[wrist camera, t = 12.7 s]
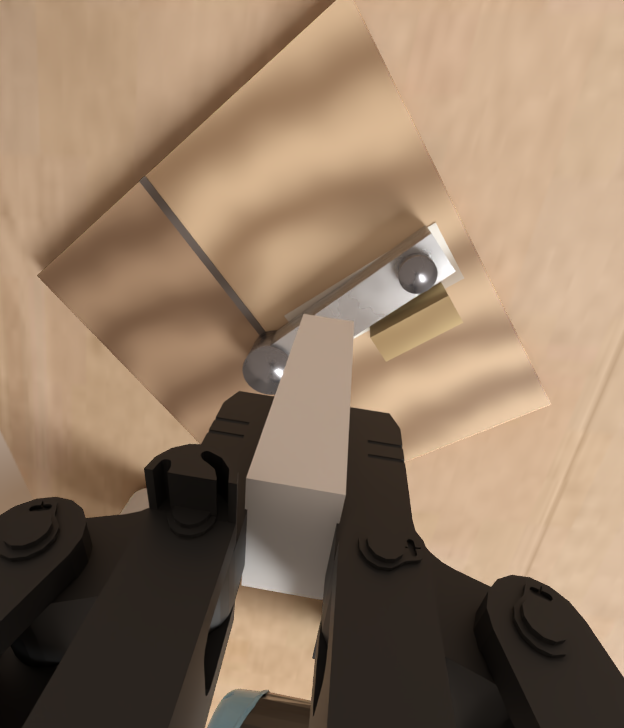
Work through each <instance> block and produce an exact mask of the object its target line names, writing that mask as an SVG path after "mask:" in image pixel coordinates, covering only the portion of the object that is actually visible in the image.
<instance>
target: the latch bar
mask: <svg viewBox="0 0 624 728" xmlns="http://www.w3.org/2000/svg"><path fill="white" fill-rule="evenodd" d="M454 272H456V271H455V270H454V268H453V266H452V265H451V263H450V262H449V260H448V259H447V257H446V255H445V254H444V252H443V251H442V249H441V247H440V246H439V244H438V243H437V241H436V239H435V238H434V236H433V235H432V233H431V232H430V230H429V229H428V228H427V226H426V225H425V226H423V227H422V228H421V229H419V230H418V231H416V232H415V233H414V234H412V235H411V236H409V237H408V238H407V239H405V240H404V241H402V242H401V243H400V244H398V245H397V246H395V247H394V248H393V249H391V250H390V251H388V252H387V253H386V254H384V255H383V256H381V257H380V258H378V259H377V260H376V261H374V262H373V263H371V264H370V265H369V266H367V267H366V268H364V269H363V270H362V271H360V272H359V273H357V274H356V275H355V276H353V277H352V278H350V279H349V280H348V281H346V282H345V283H343V284H342V285H341V286H339V287H338V288H336V289H335V290H334V291H332V292H331V293H329V294H328V295H326V296H325V297H324V298H322V299H321V300H319V301H318V302H317V303H315V304H314V305H312V306H311V307H310V308H308V309H307V310H305V311H304V312H303V313H301V314H300V315H298V316H297V317H296V318H294V319H293V320H291V321H290V322H289V323H287V324H286V325H284V326H283V327H282V328H280V329H279V330H272V331H267V332H264V333H263V334H261V335H260V336H259V337H258V338H257V339H256V341H255V343H254V344H253V346H252V348H251V350H250V352H249V354H248V355H247V357H246V359H245V361H244V363H243V368H242V371H243V376H244V379H245V381H246V382H247V383H248V385H249V386H250V387H251V388H253V389H254V390H256V391H257V392H260V393H262V394H267V395H275V394H276V391H277V388H278V386H279V383H280V380H281V377H282V374H283V371H284V368H285V366H286V363H287V360H288V357H289V354H290V351H291V349H292V346H293V343H294V340H295V337H296V334H297V331H298V329H299V326H300V323H301V320H302V317H303V314H308V315H314V316H321V317H328V318H334V319H341V320H348V321H354V336H356V335H357V334H359V333H360V332H362V331H363V330H365V329H367V328H368V327H370V326H371V325H373V324H374V323H376V322H377V321H379V320H381V319H382V318H384V317H385V316H387V315H388V314H390V313H392V312H393V311H395V310H396V309H398V308H399V307H401V306H402V305H404V304H406V303H407V302H409V301H410V300H412V299H413V298H415V297H417V296H418V295H420V294H421V293H424V292H426V291H428V290H429V289H430V288H432V286H434V285H435V284H437V283H438V282H440V281H442V280H443V279H445V278H446V277H448V276H449V275H451V274H452V273H454Z"/></svg>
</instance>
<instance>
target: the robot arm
mask: <svg viewBox="0 0 624 728" xmlns="http://www.w3.org/2000/svg"><path fill="white" fill-rule="evenodd" d="M353 338H354V321H348V320H341V319H334V318H328V317H321V316H314V315H308V314H303V317H302V320H301V323H300V326H299V329H298V331H297V334H296V337H295V340H294V343H293V346H292V349H291V351H290V354H289V357H288V360H287V363H286V366H285V368H284V371H283V374H282V377H281V380H280V383H279V386H278V388H277V391H276V394H275V397H274V396H268V395H262V394H256V393H249V392H243V391H238V392H237V393H236V394H234V395H233V396H231V397H230V398H229V399H227V400H226V401H225V402H223V404H222V406H221V408H220V410H219V412H218V414H217V415H216V419H215V420H214V421H213V423H212V425H211V427H210V428H209V432H208V433H207V434H206V436H205V438H204V439H203V441H202V443H201V444H188V445H183V446H179V447H175V448H171V449H169V450H167V451H165V452H163V453H161V454H160V455H158V456H156V457H155V458H154V459H153V460H152V461H151V462H150V463H149V464H148V465H147V466H146V467H145V468H144V472H145V479H146V487H147V494H148V502H149V508H147V509H144V510H142V511H138V512H133V513H128V514H122V515H112V516H103V517H94V518H85V515H84V511H83V509H82V508H81V507H80V506H79V505H77V504H76V503H75V502H74V501H72V500H68V499H63V498H58V497H51V498H41V499H35V500H32V501H29V502H26V503H23V504H20V505H17V506H15V507H13V508H11V509H10V510H8V511H6V512H5V513H3V514H1V515H0V728H205V724H206V721H207V717H208V713H209V709H210V706H211V702H212V698H213V695H214V691H215V687H216V683H217V680H218V676H219V672H220V669H221V665H222V661H223V657H224V654H225V650H226V646H227V643H228V639H229V635H230V631H231V628H232V624H233V620H234V608H235V598H236V595H237V591H238V587H239V584H240V580H241V577H242V586H247V587H253V588H258V589H264V590H269V591H275V592H281V593H286V594H292V595H297V596H303V597H308V598H314V599H319V600H323V605H322V616H321V622H320V626H319V631H318V635H317V640H316V644H315V648H314V653H313V657H312V658H313V659H315V666H314V677H313V687H312V697H311V701H310V700H305V699H300V698H295V697H290V696H285V695H280V694H275V693H270V692H269V690H263V691H252V690H244V689H236V690H233V691H231V692H229V693H228V694H227V695H226V696H225V697H224V698H223V699H222V700H221V702H220V703H219V705H218V706H217V708H216V710H215V712H214V714H213V716H212V718H211V720H210V722H209V725H208V727H207V728H624V677H623V676H622V674H621V673H620V671H619V670H618V668H617V667H616V665H615V664H614V662H613V661H612V659H611V658H610V656H609V655H608V654H607V652H606V651H605V649H604V648H603V646H602V645H601V643H600V642H599V640H598V639H597V637H596V636H595V634H594V633H593V631H592V630H591V628H590V627H589V625H588V624H587V622H586V621H585V620H584V619H583V617H582V616H581V615H580V614H579V613H578V611H577V610H576V609H575V608H574V607H573V606H572V604H571V603H570V602H569V601H568V600H566V599H565V598H564V597H563V596H561V595H560V594H559V593H557V592H556V591H555V590H553V589H552V588H551V587H550V586H547V585H545V584H543V583H541V582H539V581H536V580H534V579H532V578H530V577H523V576H516V575H510V576H507V577H503V578H500V579H497V580H496V582H495V583H494V584H493V585H492V587H490V586H488V585H486V584H484V583H482V582H479V581H477V580H475V579H473V578H471V577H469V576H467V575H465V574H463V573H461V572H459V571H456V570H454V569H453V568H451V567H449V566H448V565H446V564H444V563H443V562H441V561H440V560H439V559H438V558H436V557H435V556H434V555H433V554H432V553H430V551H429V550H428V549H427V548H426V547H425V544H424V541H423V540H422V539H421V537H420V536H419V535H418V534H417V532H416V531H415V528H414V524H413V520H412V513H411V506H410V498H409V490H408V483H407V475H406V468H405V463H404V452H403V449H402V446H403V445H402V437H401V429H400V428H399V426H398V425H397V423H396V422H395V420H394V419H393V418H392V416H391V415H390V413H385V412H378V411H372V410H366V409H359V408H353V407H350V398H351V378H352V358H353Z"/></svg>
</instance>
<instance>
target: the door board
mask: <svg viewBox="0 0 624 728" xmlns="http://www.w3.org/2000/svg"><path fill="white" fill-rule="evenodd" d="M425 225H426V226H427V228H428V229H429V230H430V232H431V233H432V235H433V236H434V238H435V239H436V241H437V243H438V244H439V246H440V247H441V249H442V251H443V252H444V254H445V255H446V257H447V259H448V260H449V262H450V263H451V265H452V266H453V268H454V270H455V271H456V272H454V273H452V274H451V275H449V276H448V277H446V278H445V279H443V280H442V281H440V282H438V283H437V284H435V285H434V286H432V288H430V289H429V290H428V291H426V292H424V293H421V294H420V295H418V296H417V297H415V298H413V299H412V300H410V301H409V302H407V303H406V304H404V305H402V306H401V307H399V308H398V309H396V310H395V311H393V312H392V313H390V314H388V315H387V316H385V317H384V318H382V319H381V320H379V321H377V322H376V323H374V324H373V325H371V326H370V327H368V328H367V329H365V330H363V331H362V332H360V333H359V334H357V335H356V336H354V338H353V358H352V378H351V398H350V407H353V408H359V409H366V410H372V411H378V412H385V413H390V415H391V416H392V418H393V419H394V420H395V422H396V423H397V425H398V426H399V428H400V429H401V437H402V445H403V446H402V449H403V452H404V463H405V462H407V461H410V460H412V459H415V458H417V457H420V456H422V455H425V454H427V453H430V452H432V451H435V450H437V449H440V448H443V447H445V446H448V445H450V444H453V443H455V442H458V441H460V440H463V439H465V438H468V437H470V436H473V435H475V434H478V433H480V432H483V431H486V430H488V429H491V428H493V427H496V426H498V425H501V424H503V423H506V422H508V421H511V420H513V419H516V418H518V417H521V416H523V415H526V414H528V413H531V412H534V411H536V410H539V409H541V408H544V407H546V406H549V405H551V402H550V400H549V398H548V396H547V394H546V392H545V390H544V388H543V386H542V384H541V382H540V380H539V378H538V376H537V374H536V372H535V370H534V368H533V366H532V364H531V361H530V359H529V357H528V355H527V353H526V351H525V349H524V347H523V345H522V343H521V341H520V339H519V337H518V335H517V333H516V331H515V329H514V327H513V325H512V323H511V321H510V319H509V316H508V314H507V312H506V310H505V308H504V306H503V304H502V302H501V300H500V298H499V296H498V294H497V292H496V290H495V288H494V286H493V284H492V282H491V280H490V278H489V276H488V274H487V271H486V269H485V267H484V265H483V263H482V261H481V259H480V257H479V255H478V253H477V251H476V249H475V247H474V245H473V243H472V241H471V239H470V237H469V235H468V233H467V231H466V229H465V226H464V224H463V222H462V220H461V218H460V216H459V214H458V212H457V210H456V208H455V206H454V204H453V202H452V200H451V198H450V196H449V194H448V192H447V190H446V188H445V186H444V184H443V181H442V179H441V177H440V175H439V173H438V171H437V169H436V167H435V165H434V163H433V161H432V159H431V157H430V155H429V153H428V151H427V149H426V147H425V145H424V143H423V141H422V139H421V136H420V134H419V132H418V130H417V128H416V126H415V124H414V122H413V120H412V118H411V116H410V114H409V112H408V110H407V108H406V106H405V104H404V102H403V100H402V98H401V96H400V94H399V91H398V89H397V87H396V85H395V83H394V81H393V79H392V77H391V75H390V73H389V71H388V69H387V67H386V65H385V63H384V61H383V59H382V57H381V55H380V53H379V51H378V49H377V46H376V44H375V42H374V40H373V38H372V36H371V34H370V32H369V30H368V28H367V26H366V24H365V22H364V20H363V18H362V16H361V14H360V12H359V10H358V8H357V6H356V4H355V1H354V0H336V1H335V2H334V3H333V4H331V5H330V6H329V7H328V8H327V9H326V10H325V11H324V12H323V13H322V14H321V15H319V16H318V17H317V18H316V19H315V20H314V21H313V22H312V23H311V24H310V25H309V26H308V27H306V28H305V29H304V30H303V31H302V32H301V33H300V34H299V35H298V36H297V37H296V38H294V39H293V40H292V41H291V42H290V43H289V44H288V45H287V46H286V47H285V48H284V49H283V50H281V51H280V52H279V53H278V54H277V55H276V56H275V57H274V58H273V59H272V60H271V61H270V62H268V63H267V64H266V65H265V66H264V67H263V68H262V69H261V70H260V71H259V72H258V73H256V74H255V75H254V76H253V77H252V78H251V79H250V80H249V81H248V82H247V83H246V84H245V85H243V86H242V87H241V88H240V89H239V90H238V91H237V92H236V93H235V94H234V95H233V96H231V97H230V98H229V99H228V100H227V101H226V102H225V103H224V104H223V105H222V106H221V107H220V108H218V109H217V110H216V111H215V112H214V113H213V114H212V115H211V116H210V117H209V118H208V119H207V120H205V121H204V122H203V123H202V124H201V125H200V126H199V127H198V128H197V129H196V130H195V131H193V132H192V133H191V134H190V135H189V136H188V137H187V138H186V139H185V140H184V141H183V142H182V143H180V144H179V145H178V146H177V147H176V148H175V149H174V150H173V151H172V152H171V153H170V154H168V155H167V156H166V157H165V158H164V159H163V160H162V161H161V162H160V163H159V164H158V165H157V166H155V167H154V168H153V169H152V170H151V171H150V172H149V173H148V174H147V175H146V176H144V177H143V178H142V179H141V180H140V181H139V182H138V183H137V184H136V185H135V186H134V187H133V188H132V189H130V190H129V191H128V192H127V193H126V194H125V195H124V196H123V197H122V198H121V199H120V200H119V201H117V202H116V203H115V204H114V205H113V206H112V207H111V208H110V209H109V210H108V211H107V212H105V213H104V214H103V215H102V216H101V217H100V218H99V219H98V220H97V221H96V222H95V223H94V224H92V225H91V226H90V227H89V228H88V229H87V230H86V231H85V232H84V233H83V234H82V235H81V236H79V237H78V238H77V239H76V240H75V241H74V242H73V243H72V244H71V245H70V246H69V247H67V248H66V249H65V250H64V251H63V252H62V253H61V254H60V255H59V256H58V257H57V258H56V259H54V260H53V261H52V262H51V263H50V264H49V265H48V266H47V267H46V268H45V269H44V270H42V271H41V272H40V273H39V274H38V275H37V276H38V277H39V278H40V279H41V280H42V281H43V282H44V283H45V284H46V285H47V286H48V287H49V289H50V290H51V291H52V292H53V293H54V294H55V295H56V296H57V297H58V298H59V299H60V300H61V301H62V302H63V303H64V304H65V305H66V306H67V307H68V308H69V309H70V310H71V311H72V312H73V313H74V314H75V315H76V316H77V317H78V318H79V319H80V321H81V322H82V323H83V324H84V325H85V326H86V327H87V328H88V329H89V330H90V331H91V332H92V333H93V334H94V335H95V336H96V337H97V338H98V339H99V340H100V341H101V342H102V343H103V344H104V345H105V346H106V347H107V348H108V349H109V350H110V351H111V352H112V354H113V355H114V356H115V357H116V358H117V359H118V360H119V361H120V362H121V363H122V364H123V365H124V366H125V367H126V368H127V369H128V370H129V371H130V372H131V373H132V374H133V375H134V376H135V377H136V378H137V379H138V380H139V381H140V382H141V383H142V384H143V386H144V387H145V388H146V389H147V390H148V391H149V392H150V393H151V394H152V395H153V396H154V397H155V398H156V399H157V400H158V401H159V402H160V403H161V404H162V405H163V406H164V407H165V408H166V409H167V410H168V411H169V412H170V413H171V414H172V415H173V416H174V418H175V419H176V420H177V421H178V422H179V423H180V424H181V425H182V426H183V427H184V428H185V429H186V430H187V431H188V432H189V433H190V434H191V435H192V436H193V437H194V438H195V439H196V440H197V441H198V442H199V443H200V444H201V443H202V441H203V439H204V438H205V436H206V434H207V433H208V432H209V428H210V427H211V425H212V423H213V421H214V420H215V419H216V415H217V414H218V412H219V410H220V408H221V406H222V404H223V402H225V401H226V400H227V399H229V398H230V397H231V396H233V395H234V394H236V393H237V392H238V391H243V392H249V393H256V394H262V393H260V392H257V391H256V390H254V389H253V388H251V387H250V386H249V385H248V383H247V382H246V381H245V379H244V376H243V371H242V368H243V363H244V361H245V359H246V357H247V355H248V354H249V352H250V350H251V348H252V346H253V344H254V343H255V341H256V339H257V338H258V337H259V336H260V335H261V334H263V333H264V332H267V331H272V330H279V329H280V328H282V327H283V326H284V325H286V324H287V323H289V322H290V321H291V320H293V319H294V318H296V317H297V316H298V315H300V314H301V313H303V312H304V311H305V310H307V309H308V308H310V307H311V306H312V305H314V304H315V303H317V302H318V301H319V300H321V299H322V298H324V297H325V296H326V295H328V294H329V293H331V292H332V291H334V290H335V289H336V288H338V287H339V286H341V285H342V284H343V283H345V282H346V281H348V280H349V279H350V278H352V277H353V276H355V275H356V274H357V273H359V272H360V271H362V270H363V269H364V268H366V267H367V266H369V265H370V264H371V263H373V262H374V261H376V260H377V259H378V258H380V257H381V256H383V255H384V254H386V253H387V252H388V251H390V250H391V249H393V248H394V247H395V246H397V245H398V244H400V243H401V242H402V241H404V240H405V239H407V238H408V237H409V236H411V235H412V234H414V233H415V232H416V231H418V230H419V229H421V228H422V227H423V226H425ZM262 395H267V394H262ZM268 396H274V397H275V395H268Z"/></svg>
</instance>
